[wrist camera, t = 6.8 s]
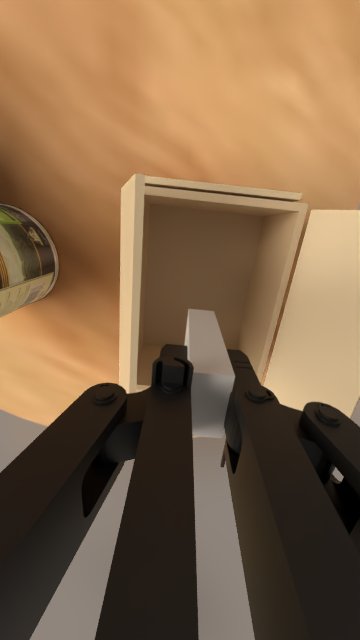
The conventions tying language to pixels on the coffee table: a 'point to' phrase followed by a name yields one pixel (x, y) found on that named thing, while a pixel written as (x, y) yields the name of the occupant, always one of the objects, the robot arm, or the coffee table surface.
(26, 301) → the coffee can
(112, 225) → the coffee table surface
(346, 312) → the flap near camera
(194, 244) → the carton
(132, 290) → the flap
